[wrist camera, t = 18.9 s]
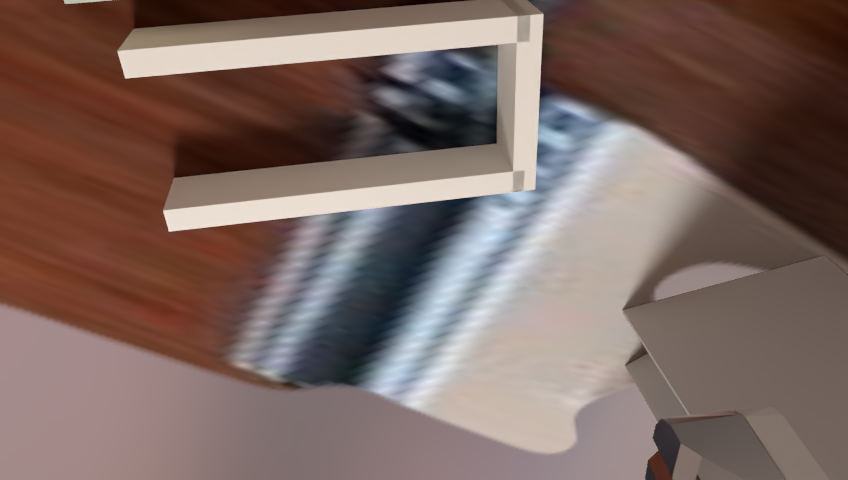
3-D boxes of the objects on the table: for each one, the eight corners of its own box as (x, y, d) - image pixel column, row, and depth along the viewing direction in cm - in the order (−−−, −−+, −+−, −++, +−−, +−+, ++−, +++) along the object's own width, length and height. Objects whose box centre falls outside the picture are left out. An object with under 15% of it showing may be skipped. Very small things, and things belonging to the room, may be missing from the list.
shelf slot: (522, -4, 34) (543, 13, 31) (517, 160, 39) (534, 189, 36) (133, 28, 32) (117, 50, 29) (179, 197, 37) (169, 231, 34)
